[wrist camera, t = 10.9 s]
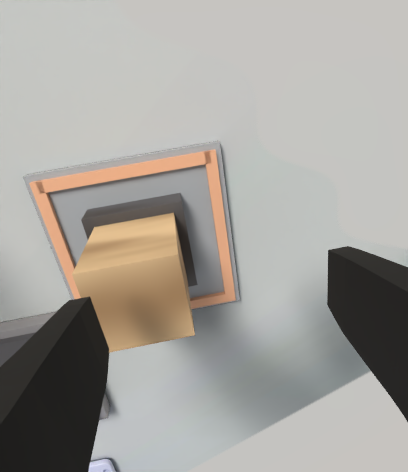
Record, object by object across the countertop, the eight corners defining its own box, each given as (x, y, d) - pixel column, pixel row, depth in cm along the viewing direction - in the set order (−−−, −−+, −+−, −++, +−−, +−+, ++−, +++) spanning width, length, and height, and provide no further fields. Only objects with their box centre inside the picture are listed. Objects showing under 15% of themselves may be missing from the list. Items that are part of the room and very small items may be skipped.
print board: (238, 295, 21) (240, 303, 21) (86, 325, 21) (83, 334, 20) (218, 140, 17) (220, 143, 16) (26, 174, 17) (20, 178, 16)
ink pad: (110, 405, 24) (107, 424, 23) (-13, 431, 24) (-24, 452, 22) (70, 308, 20) (64, 324, 19) (-77, 337, 20) (-95, 356, 19)
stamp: (195, 271, 20) (207, 341, 14) (112, 287, 19) (93, 364, 14) (180, 192, 18) (188, 240, 12) (87, 209, 17) (53, 265, 12)
